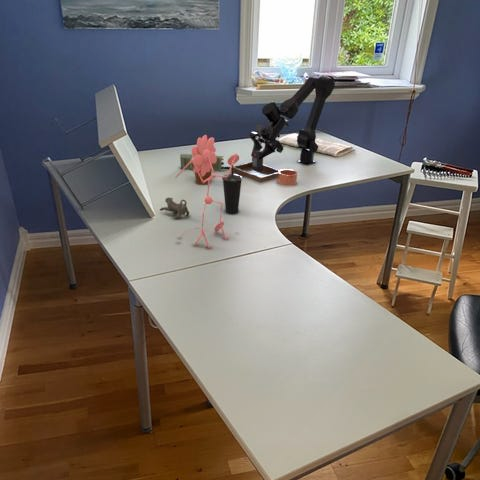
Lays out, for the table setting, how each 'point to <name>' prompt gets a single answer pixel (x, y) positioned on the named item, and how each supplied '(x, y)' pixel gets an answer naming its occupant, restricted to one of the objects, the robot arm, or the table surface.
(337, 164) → the table surface
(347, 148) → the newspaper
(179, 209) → the dog figurine
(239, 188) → the drinking cup
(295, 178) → the holder cup
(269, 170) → the tray
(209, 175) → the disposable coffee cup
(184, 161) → the handheld radio
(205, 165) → the figurine
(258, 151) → the dark grey block
